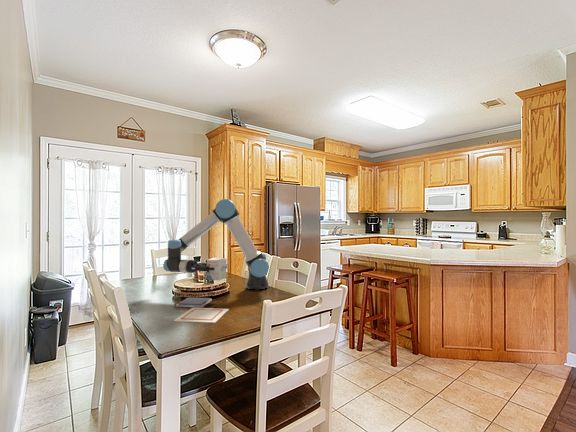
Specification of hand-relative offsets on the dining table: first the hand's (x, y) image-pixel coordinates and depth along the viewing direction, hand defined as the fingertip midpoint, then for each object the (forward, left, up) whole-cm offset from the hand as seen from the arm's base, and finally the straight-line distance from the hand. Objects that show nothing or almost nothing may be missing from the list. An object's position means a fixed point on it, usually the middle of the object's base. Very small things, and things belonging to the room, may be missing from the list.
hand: (223, 267), depth 178 cm
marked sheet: (+1, +28, -19) cm, 34 cm away
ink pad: (+14, +9, -19) cm, 25 cm away
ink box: (+5, 0, -7) cm, 8 cm away
